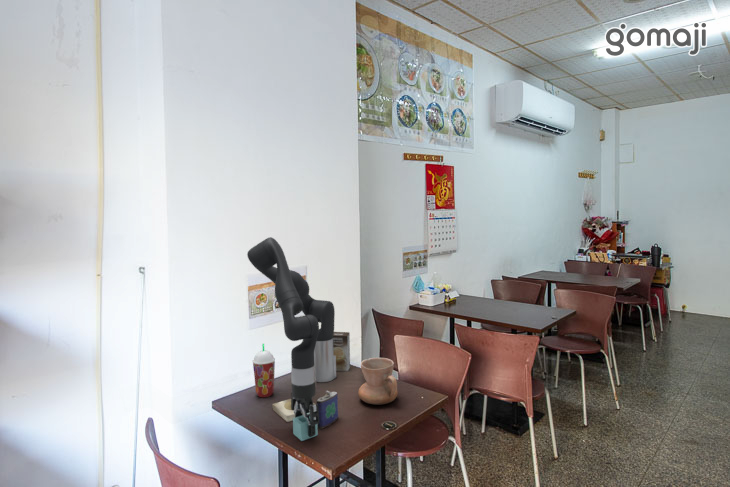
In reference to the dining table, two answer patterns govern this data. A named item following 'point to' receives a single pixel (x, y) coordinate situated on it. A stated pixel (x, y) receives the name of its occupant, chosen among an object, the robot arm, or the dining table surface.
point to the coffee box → (342, 350)
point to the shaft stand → (285, 410)
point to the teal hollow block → (302, 428)
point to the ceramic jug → (378, 381)
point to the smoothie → (264, 373)
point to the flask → (327, 409)
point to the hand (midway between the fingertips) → (305, 430)
